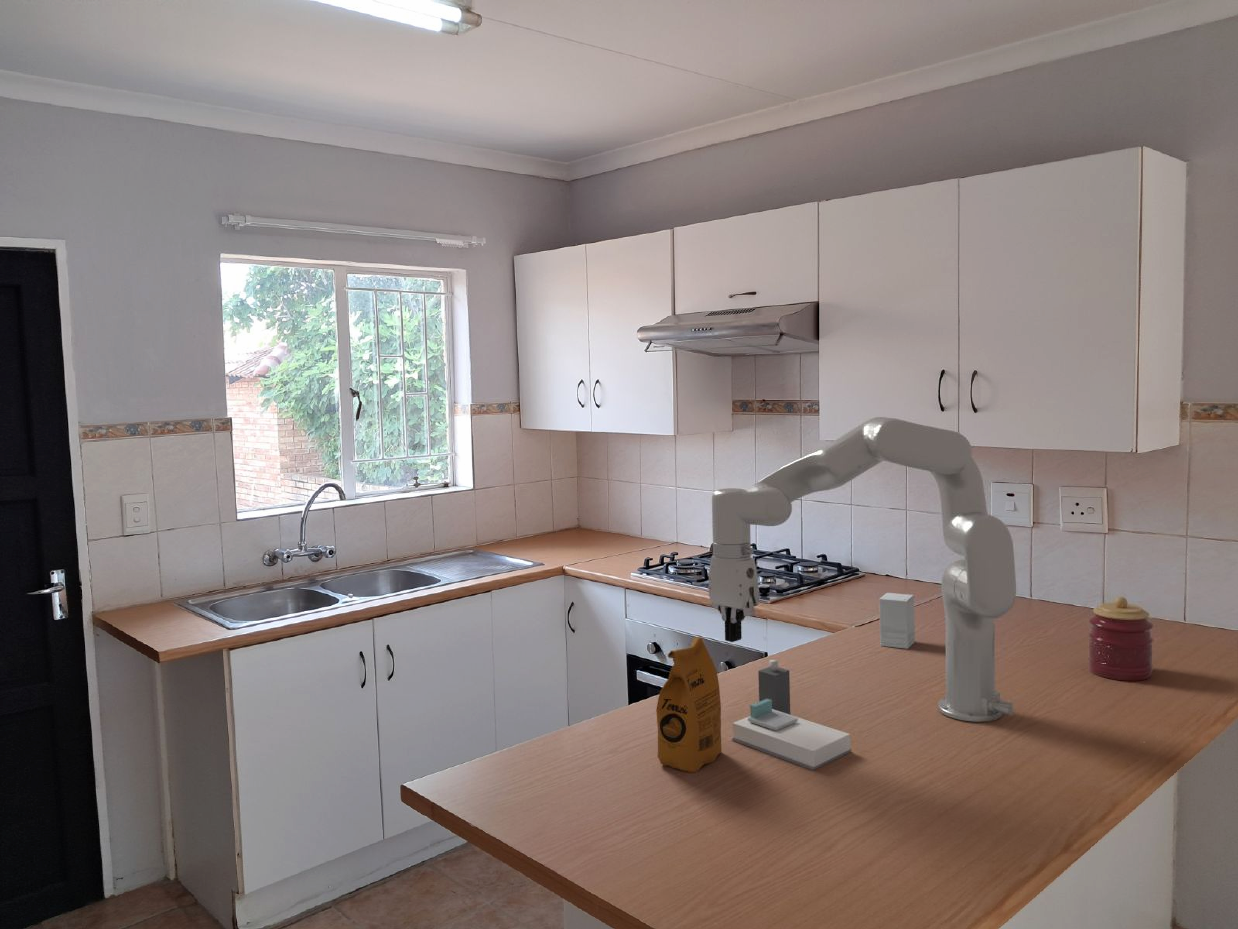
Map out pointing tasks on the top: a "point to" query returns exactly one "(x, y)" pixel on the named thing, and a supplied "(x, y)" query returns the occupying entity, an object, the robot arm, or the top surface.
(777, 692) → the plug
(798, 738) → the socket
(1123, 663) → the canister
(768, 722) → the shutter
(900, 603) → the supplement box
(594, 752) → the top surface
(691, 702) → the coffee package
